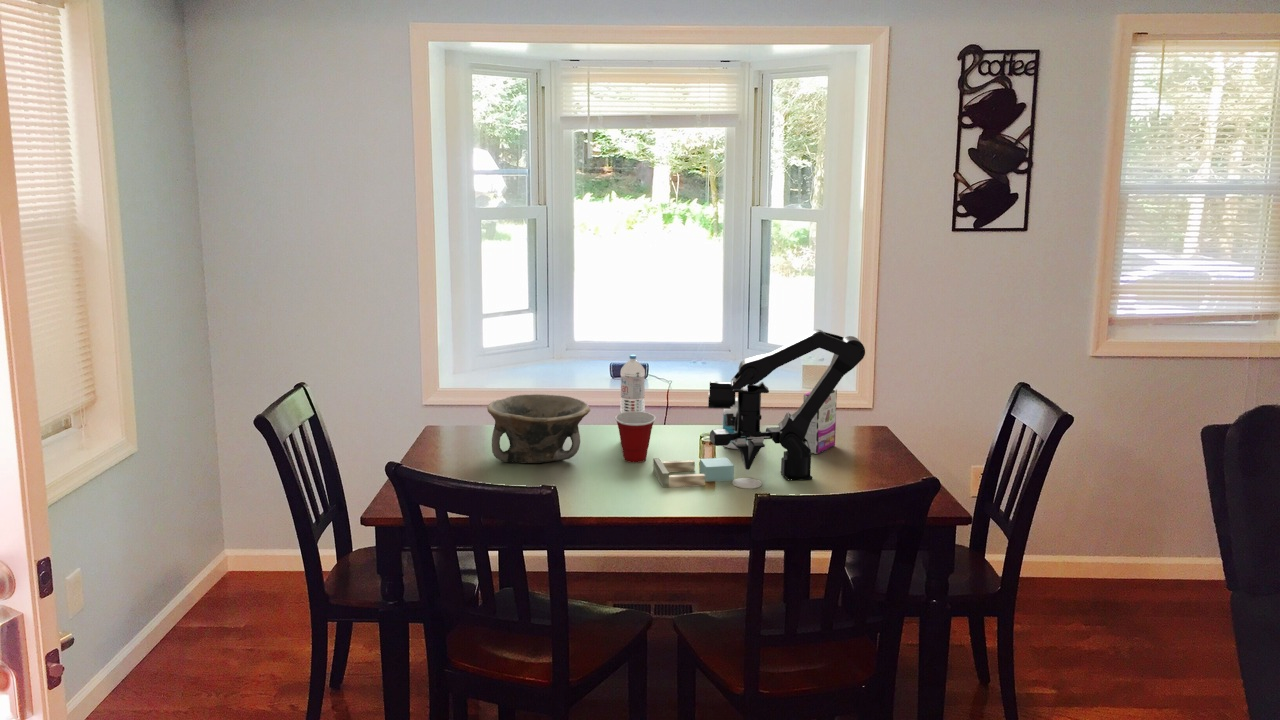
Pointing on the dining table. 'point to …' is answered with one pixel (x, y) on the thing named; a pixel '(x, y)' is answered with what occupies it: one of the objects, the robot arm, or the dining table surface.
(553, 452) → the bowl
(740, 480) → the pad
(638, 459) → the plastic cup
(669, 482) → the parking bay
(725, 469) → the block
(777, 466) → the dining table surface
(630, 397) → the water bottle
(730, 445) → the pill bottle
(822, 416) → the candy bar box
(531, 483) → the dining table surface
